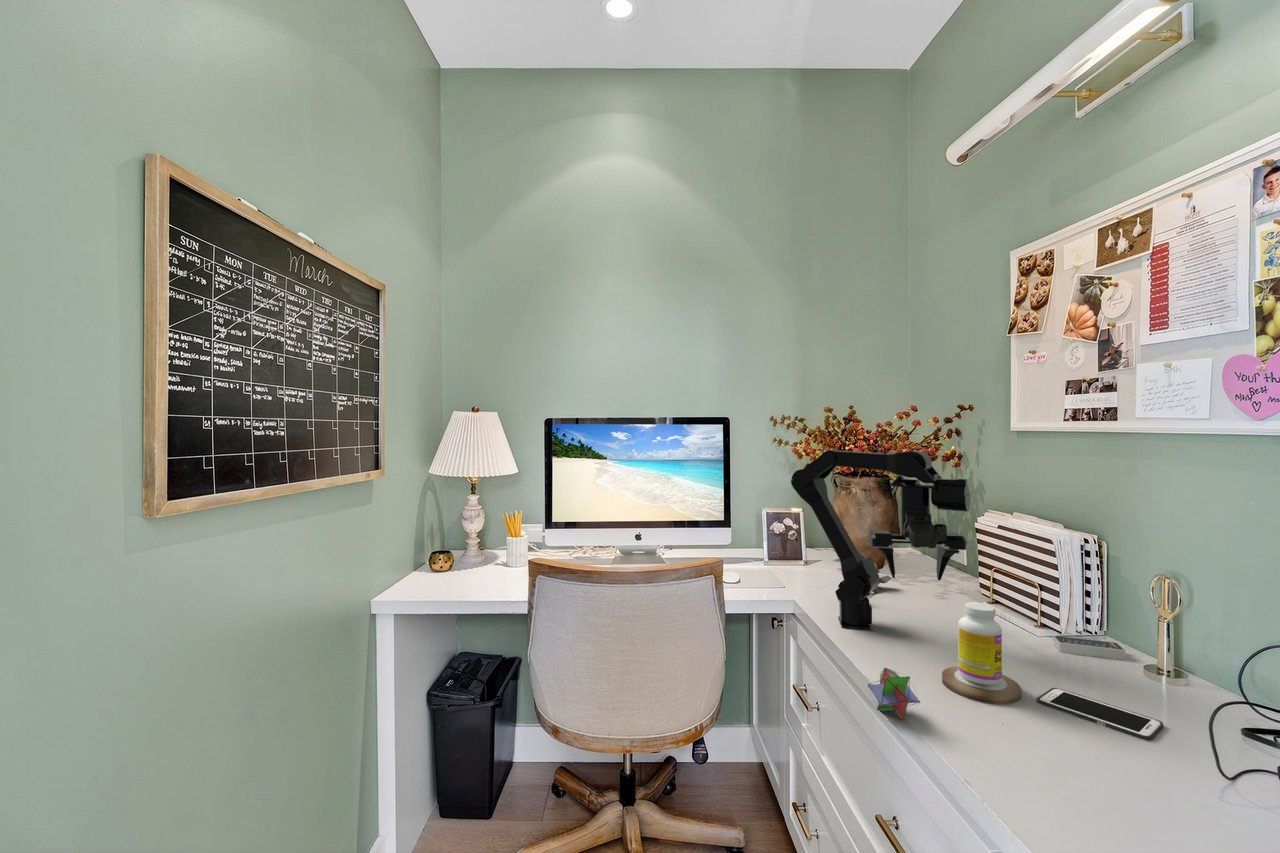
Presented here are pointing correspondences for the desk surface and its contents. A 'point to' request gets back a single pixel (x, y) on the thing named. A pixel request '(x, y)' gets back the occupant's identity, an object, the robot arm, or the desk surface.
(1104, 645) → the multiport hub
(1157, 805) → the desk surface
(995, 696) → the brown rimmed plate
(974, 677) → the supplement bottle
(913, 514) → the robot arm
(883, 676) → the geometric puzzle
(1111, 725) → the cell phone
